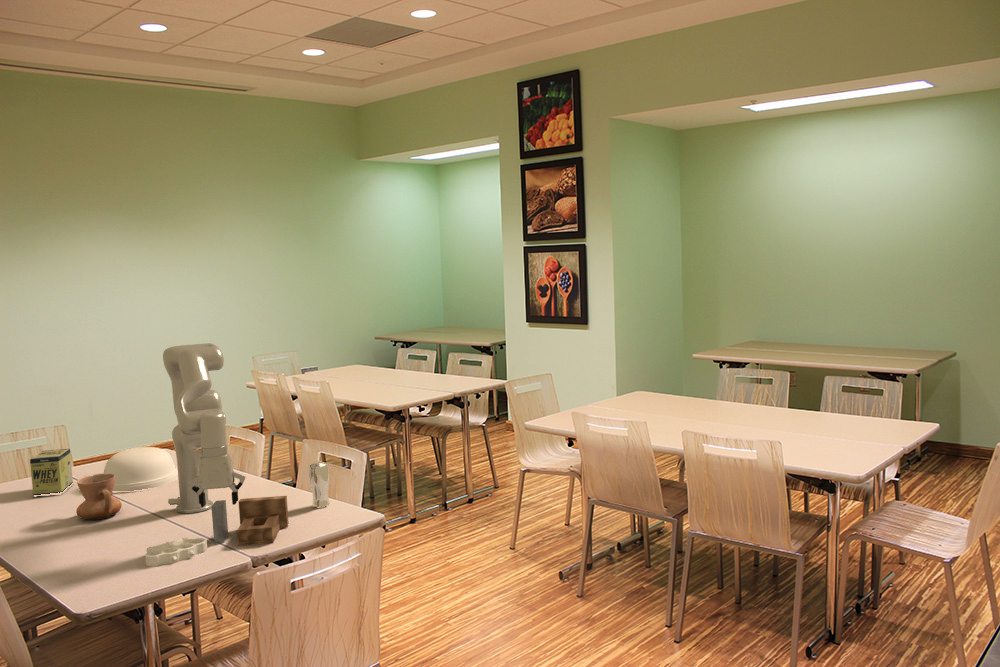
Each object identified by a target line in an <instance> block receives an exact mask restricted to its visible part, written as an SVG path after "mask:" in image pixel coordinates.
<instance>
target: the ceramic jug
mask: <svg viewBox="0 0 1000 667" xmlns="http://www.w3.org/2000/svg"><path fill="white" fill-rule="evenodd" d="M76 484H77V486H78V489H79V491H80V494H82V496H83V498H84V499H85V500H84V501H83V502H81V503H80V504H79V505H78V506H77V508H76V515H77V516H78V517H79V518H80V519H83V520H90V521H92V520H95V519H97V520H103V519H107V518H109V517H112V516H115V515H116V514H117V513H119V511H121V509H122V507H123V506H122V505H123V504H122V501H121V500H120V499H119V498H118V497H117V498H116V497H114V496H112V494H113V493H112V491H113V488H114V484H115V475H114V474H110V473H104V472H103V473H95V474H93V475H87V476H83V477H80V478H79V479H78V480H77V481H76Z"/></svg>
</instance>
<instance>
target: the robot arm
mask: <svg viewBox="0 0 1000 667" xmlns="http://www.w3.org/2000/svg"><path fill="white" fill-rule="evenodd" d="M162 361H163V366H164V368H165V371H166V372H167V374H168V376H169V378H170V381H171V388H172V390H171V391H172V400H173V401H172V402H173V409H174V414H175V416H176V420H177V423H178V424H177V425H176V426H175V427H173V429H172V431H171V435H172V442H173V446H174V451H175V456H176V466H177V468H178V480H177V481H178V490H179V492H178V493H179V497H177V498H174V497H173V498H172V497H171V498H168V500H167V502H168V505H170V506H175V505H176V508H175V511H176V512H177V513H180V514H193V513H194V514H195V513H200V512H204V511H208V510H210V509H212V508H211V506H212V505H213V504H214V501H212V500H209V491H208V490H214V489H217V490H218V489H226V488H228V489H230V490H231V491H232V492H231V501H232V502H231V503H232V505H234V506H235V505H236V504H237V502H239V489H240V488H242V486H243V484H244V482H245V480H246V479H247V478H246V476H245V475H243V474H240V473H238V472H235V471H234V466H233V462H232V457H231V454H230V453H228V443H227V441H228V440H227V428H226V424H227V417H226V413H225V412H224V411H223V409H222V408H223V407H222V406H223V405H222V400H221V397H220V394H219V392H218V391H216V390H215V389H211V388H212V384H213V383H212V380H211V377H210V372H212V371H220V370H221V369H223V367H224V363H225V362H224V361H225V360H224V354H223V353H222V350H221V349H220V348H219V346H217V345H216V344H214V343H210V342H209V343H197V344H196V343H195V344H181V345H176V346H175V345H174V346H170V347H167V348H165V350H164V351H163V353H162ZM235 479H237V480H239V482H238V484H236V483H235Z"/></svg>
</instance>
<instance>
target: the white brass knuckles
mask: <svg viewBox="0 0 1000 667" xmlns="http://www.w3.org/2000/svg"><path fill="white" fill-rule="evenodd" d="M145 550H146V553H145V555H144V556H145V557H144V558H145V565H146V566H147V567H158V566H162V565H165V564H167V565H168V564H173V563H178V562H180V561H184V560H189V559H192V558H193V557H195V556H197V555H199V554H202V553H206V552H207V551H208V542H207V539H206V538H202V537H201V538H199V537H198V538H188V537H182V538H180V539H179V538H178V539H176V540H172V541H167V542H165V543H162V544H158V545H153V546H148V547H147V548H146V549H145Z"/></svg>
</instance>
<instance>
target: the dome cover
mask: <svg viewBox="0 0 1000 667" xmlns="http://www.w3.org/2000/svg"><path fill="white" fill-rule="evenodd" d="M103 473H110V474H114V475H115V484H114V488H113V491H134V490H142V489H148V488H154V487H158V486H162V485H165V484H168V483H171V482H173V481H175V480H177V479H178V468H177V465H176V466H175V463H174V460H173V458H172V456H171V454H170V453H169V452H167V450H165V449H162V448H160V447H154V446H141V447H135V448H129V449H125V450H122V451H120V452H116V453H115V454H114V455H112V456H111V457H110V458H109V459H108V460H107V462H106V463H105V466H104V469H103ZM177 481H178V480H177Z"/></svg>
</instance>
